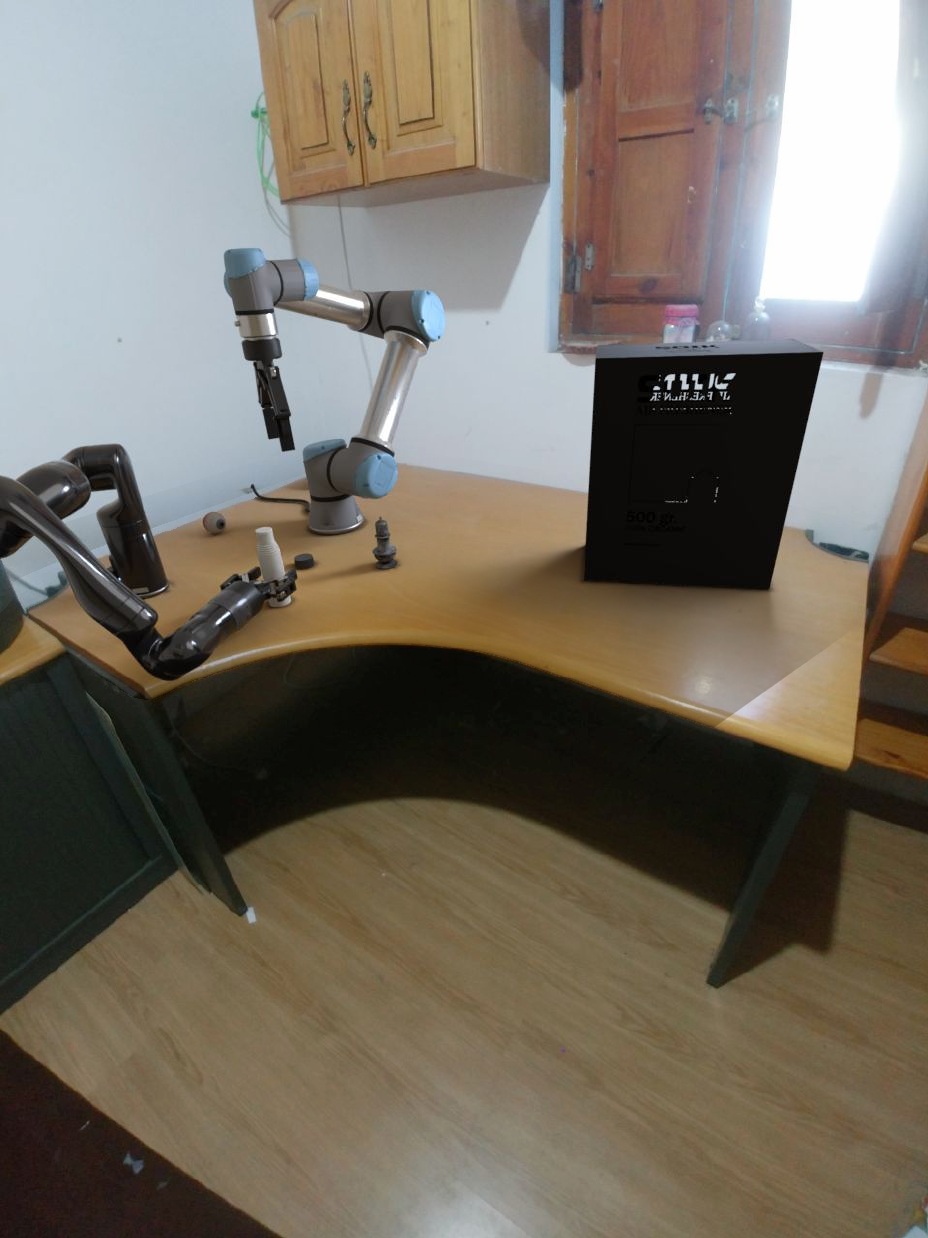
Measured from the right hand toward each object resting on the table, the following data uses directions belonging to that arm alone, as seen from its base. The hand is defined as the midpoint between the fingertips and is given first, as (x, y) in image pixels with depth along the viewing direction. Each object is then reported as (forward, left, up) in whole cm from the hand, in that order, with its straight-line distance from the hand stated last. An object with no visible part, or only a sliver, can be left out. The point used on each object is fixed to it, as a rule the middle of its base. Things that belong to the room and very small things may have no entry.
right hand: (281, 444), depth 132 cm
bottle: (+14, -12, -29) cm, 35 cm away
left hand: (+14, -11, -22) cm, 29 cm away
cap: (0, 0, -27) cm, 27 cm away
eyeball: (-38, -10, -29) cm, 49 cm away
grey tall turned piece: (+13, +15, -29) cm, 35 cm away
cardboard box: (+58, +63, -29) cm, 91 cm away
